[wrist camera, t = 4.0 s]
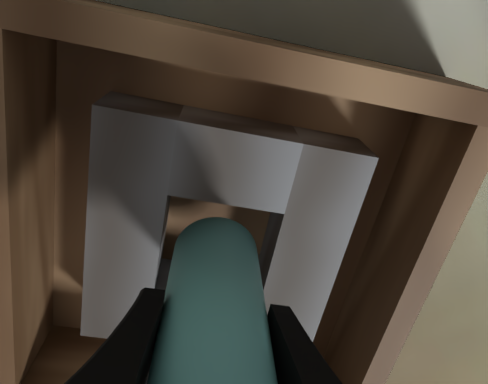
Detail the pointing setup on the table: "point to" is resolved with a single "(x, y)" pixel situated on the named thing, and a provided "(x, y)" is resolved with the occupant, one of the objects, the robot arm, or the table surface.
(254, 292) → the peg
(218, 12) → the table surface
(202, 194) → the box
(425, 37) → the table surface
